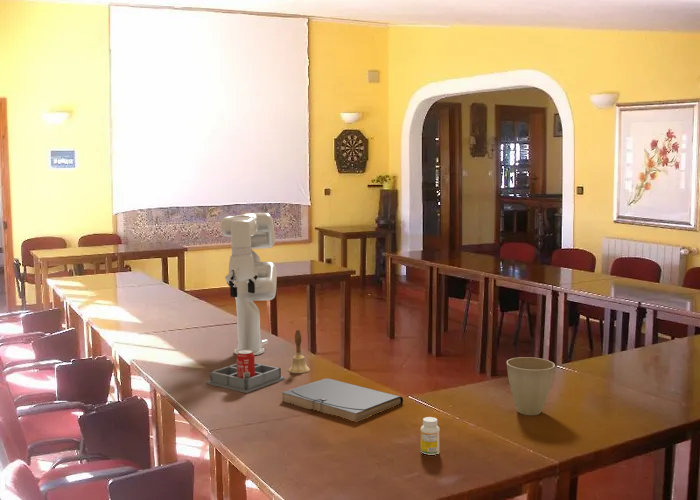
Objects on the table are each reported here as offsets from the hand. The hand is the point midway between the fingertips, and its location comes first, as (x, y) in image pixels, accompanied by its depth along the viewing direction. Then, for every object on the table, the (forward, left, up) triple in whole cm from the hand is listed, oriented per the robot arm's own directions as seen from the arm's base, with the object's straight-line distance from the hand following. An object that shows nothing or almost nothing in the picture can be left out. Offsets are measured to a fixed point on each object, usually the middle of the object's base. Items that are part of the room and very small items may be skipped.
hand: (242, 294), depth 301 cm
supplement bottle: (+36, +106, -28) cm, 115 cm away
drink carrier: (+16, +16, -28) cm, 36 cm away
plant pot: (-11, +115, -28) cm, 119 cm away
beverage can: (+20, +20, -28) cm, 40 cm away
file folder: (+15, +60, -29) cm, 68 cm away
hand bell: (-6, +23, -29) cm, 37 cm away
